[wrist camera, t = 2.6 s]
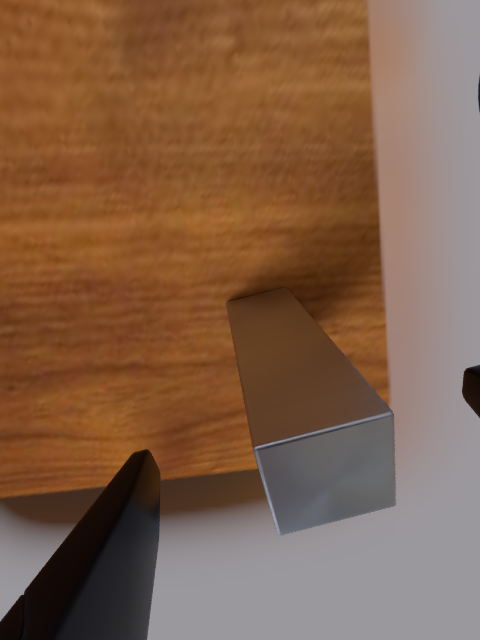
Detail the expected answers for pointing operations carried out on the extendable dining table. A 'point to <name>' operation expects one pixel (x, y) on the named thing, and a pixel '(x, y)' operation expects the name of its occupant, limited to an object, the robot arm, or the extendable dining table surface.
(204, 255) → the extendable dining table surface
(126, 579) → the robot arm
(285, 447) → the metal peg
